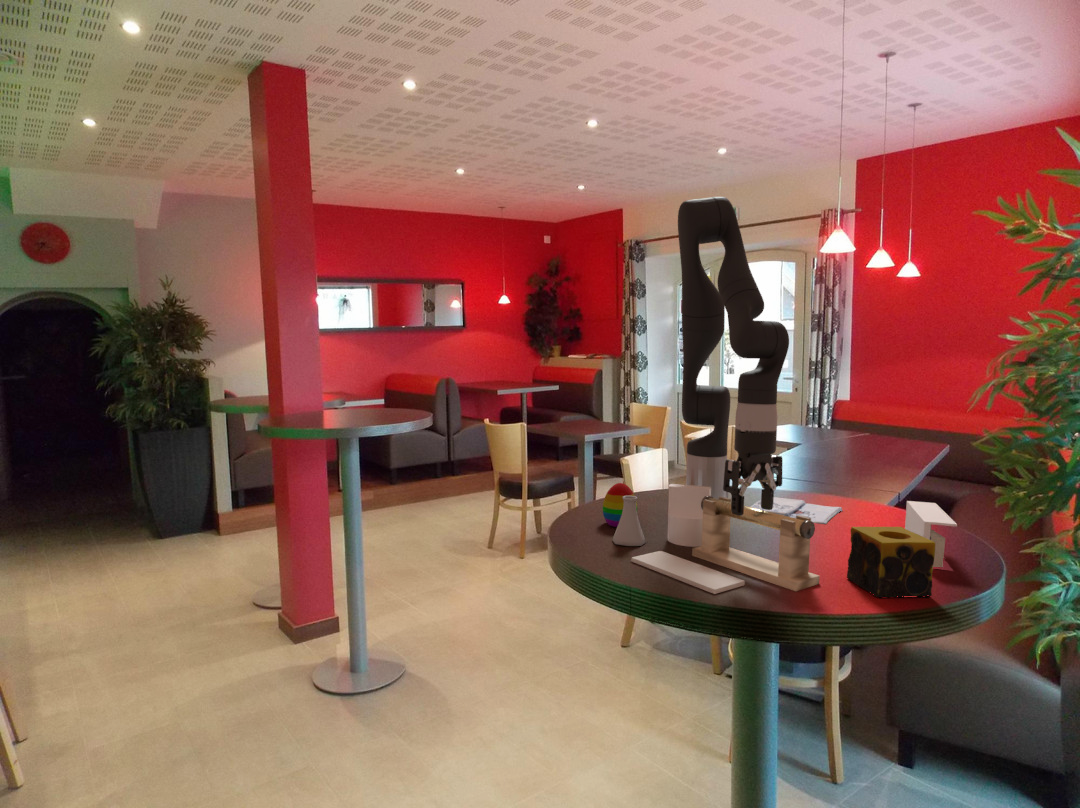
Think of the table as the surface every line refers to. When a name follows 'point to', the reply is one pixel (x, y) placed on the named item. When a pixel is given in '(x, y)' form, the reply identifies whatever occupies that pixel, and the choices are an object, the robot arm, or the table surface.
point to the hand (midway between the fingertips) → (752, 511)
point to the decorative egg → (615, 503)
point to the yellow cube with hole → (891, 561)
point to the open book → (801, 509)
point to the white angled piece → (928, 525)
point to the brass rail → (763, 517)
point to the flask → (629, 525)
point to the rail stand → (785, 573)
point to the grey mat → (688, 572)
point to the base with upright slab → (686, 514)
